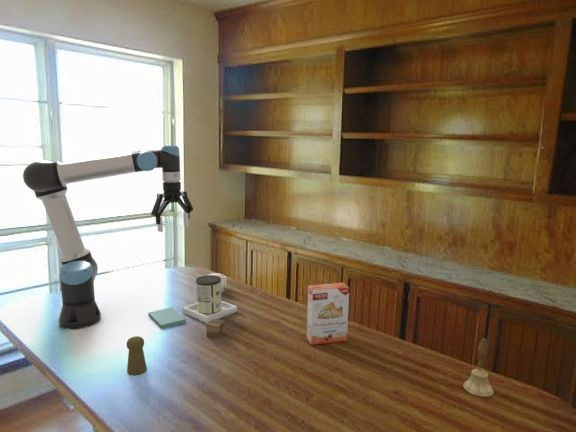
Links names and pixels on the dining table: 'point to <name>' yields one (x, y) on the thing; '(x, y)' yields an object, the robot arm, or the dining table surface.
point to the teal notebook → (166, 317)
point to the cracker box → (327, 313)
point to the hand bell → (479, 375)
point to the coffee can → (208, 294)
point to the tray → (226, 310)
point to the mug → (223, 280)
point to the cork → (136, 356)
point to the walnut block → (215, 328)
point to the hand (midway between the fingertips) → (173, 229)
